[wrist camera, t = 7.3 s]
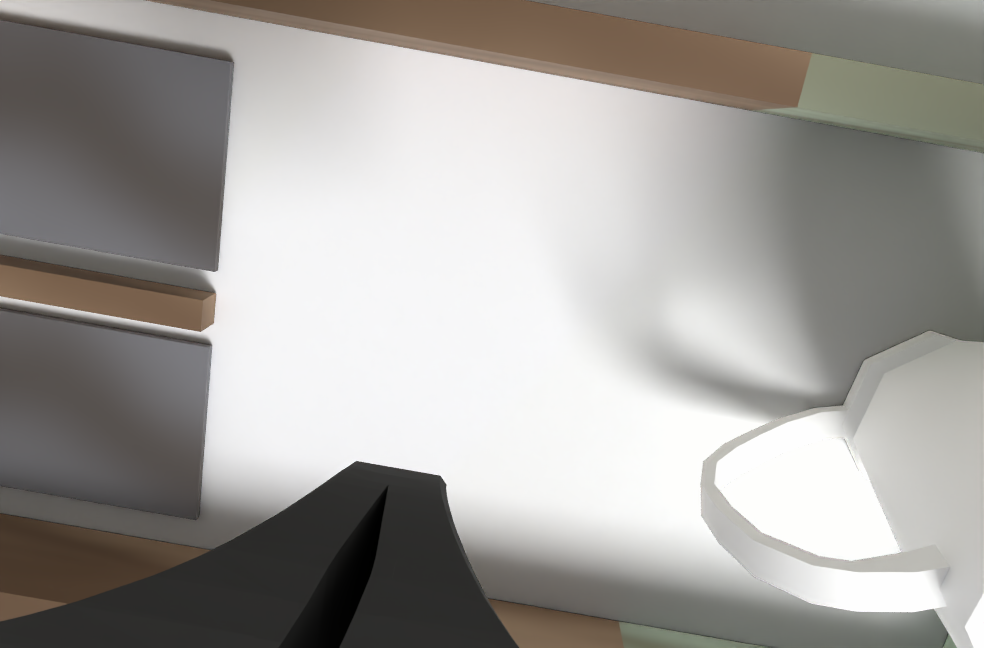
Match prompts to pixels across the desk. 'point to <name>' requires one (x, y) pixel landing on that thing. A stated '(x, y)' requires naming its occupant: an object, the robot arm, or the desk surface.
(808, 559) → the cup
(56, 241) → the trap box
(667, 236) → the desk surface
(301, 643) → the robot arm
